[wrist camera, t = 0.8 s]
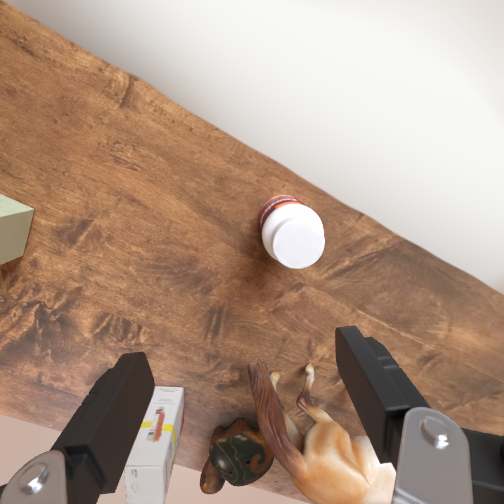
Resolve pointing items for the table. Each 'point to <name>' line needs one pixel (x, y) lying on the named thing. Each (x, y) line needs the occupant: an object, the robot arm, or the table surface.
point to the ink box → (155, 448)
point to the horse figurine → (319, 448)
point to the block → (13, 228)
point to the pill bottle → (291, 232)
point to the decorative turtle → (235, 457)
